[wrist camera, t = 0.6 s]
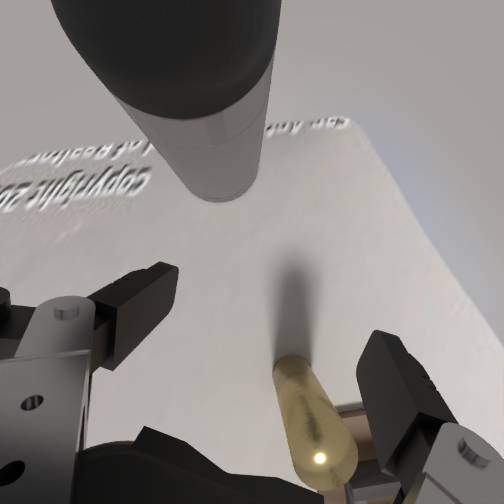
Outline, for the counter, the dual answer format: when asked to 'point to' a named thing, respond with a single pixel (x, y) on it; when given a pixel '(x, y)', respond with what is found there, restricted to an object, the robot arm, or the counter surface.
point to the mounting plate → (363, 469)
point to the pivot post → (313, 427)
